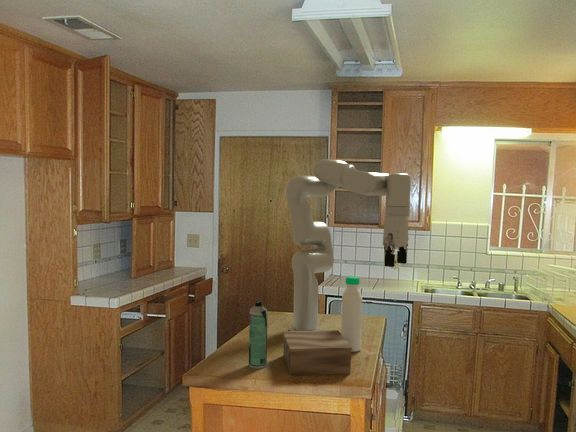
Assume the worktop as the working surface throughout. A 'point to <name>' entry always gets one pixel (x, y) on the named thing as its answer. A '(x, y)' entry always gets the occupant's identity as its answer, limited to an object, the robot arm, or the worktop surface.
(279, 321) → the worktop surface
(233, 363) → the worktop surface
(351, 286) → the water bottle
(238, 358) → the worktop surface
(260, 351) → the spray can
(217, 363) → the worktop surface
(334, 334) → the brown wooden block
